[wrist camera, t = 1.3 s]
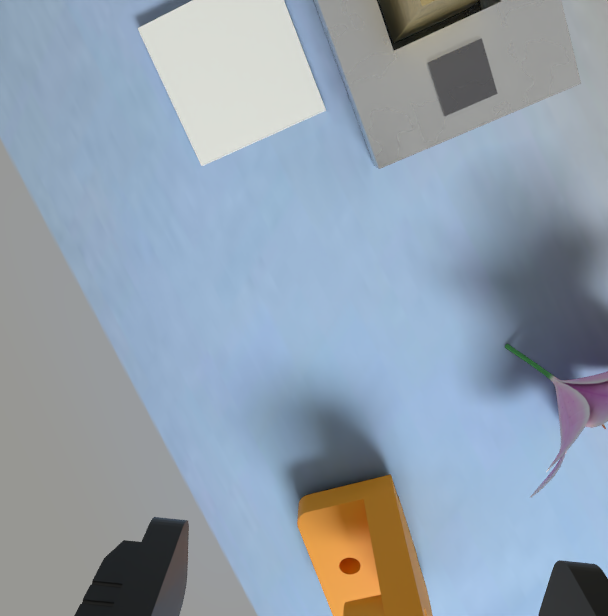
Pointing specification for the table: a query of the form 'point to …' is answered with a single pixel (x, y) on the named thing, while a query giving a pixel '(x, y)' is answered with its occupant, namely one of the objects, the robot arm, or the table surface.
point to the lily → (574, 407)
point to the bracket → (363, 550)
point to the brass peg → (419, 14)
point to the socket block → (446, 70)
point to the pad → (232, 72)
